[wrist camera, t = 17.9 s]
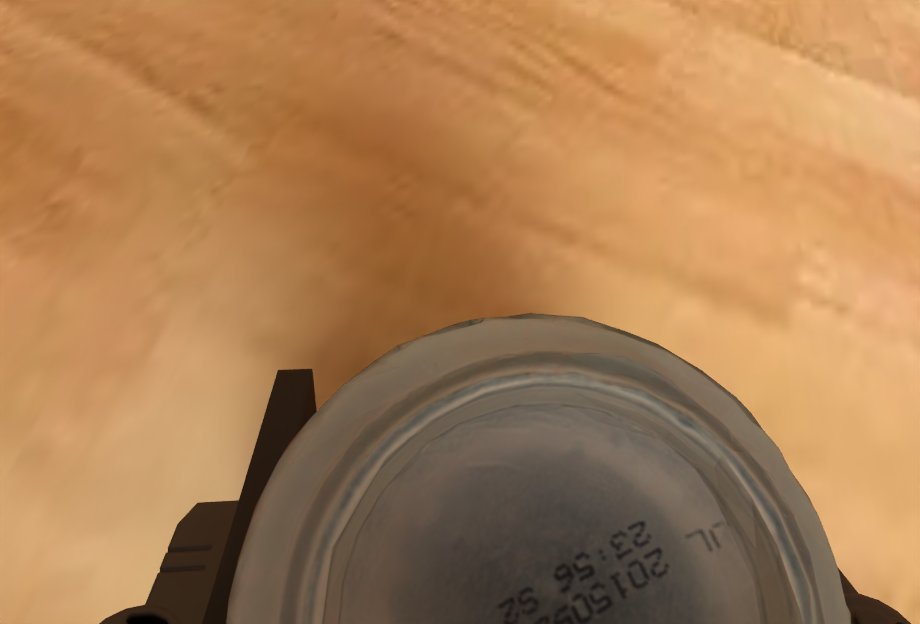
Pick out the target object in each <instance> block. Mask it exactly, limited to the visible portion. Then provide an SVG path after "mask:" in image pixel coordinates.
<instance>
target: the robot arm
mask: <svg viewBox="0 0 920 624" xmlns="http://www.w3.org/2000/svg"><path fill="white" fill-rule="evenodd" d="M315 413H316V402H315V391H314V381H313V371H312V369H294V370H278V372H277V375H276V379H275V382H274V385H273V389H272V392H271V395H270V399H269V402H268V405H267V409H266V412H265V415H264V419H263V422H262V425H261V429H260V432H259V435H258V439H257V442H256V445H255V449H254V452H253V455H252V459H251V462H250V465H249V469H248V472H247V475H246V479H245V482H244V485H243V489H242V492H241V495H240V499H239V501H221V502H203V503H197V504H196V505H195V506H194V507H193V508H192V509H191V510H190V511H189V513H188V514H187V515H186V516H185V517H184V518H183V519H182V520H181V521H180V522H179V523H178V525H177V527H176V530H175V532H174V535H173V537H172V539H171V542H170V544H169V547H168V553H166V554H165V557H164V559H163V562H162V564H161V567H160V573H158V574H157V577H156V579H155V582H154V584H153V587H152V589H151V592H150V594H149V597H148V599H147V602H146V604H145V605H142V606H137V607H132V608H127V609H125V610H123V611H120V612H118V613H116V614H114V615H112V616H110V617H108V618H106V619H105V620H103V621H102V622H101V623H100V624H226V619H227V611H228V603H229V596H230V592H231V588H232V583H233V579H234V575H235V571H236V566H237V562H238V558H239V555H240V552H241V549H242V546H243V543H244V540H245V537H246V534H247V530H248V527H249V524H250V521H251V518H252V515H253V512H254V509H255V506H256V504H257V502H258V500H259V498H260V496H261V494H262V492H263V490H264V488H265V486H266V485H267V483H268V481H269V479H270V477H271V475H272V473H273V471H274V469H275V467H276V465H277V463H278V461H279V460H280V458H281V456H282V455H283V453H284V452H285V450H286V448H287V447H288V445H289V443H290V442H291V440H292V439H293V438H294V437H295V436H296V434H297V433H298V432H299V431H300V430H301V429H302V427H303V426H304V425H305V424H306V423H307V422H308V421H309V419H310V418H311V417H312V416H313V415H314V414H315ZM837 568H838V567H837ZM838 570H839V568H838ZM839 573H840V579H841V585H842V590H843V594H844V598H845V602H846V605H847V607H848V609H849V611H850V614H851V624H911V623H910V622H909V621H907V620H906V619H905V618H904V617H903V616H902V615H901V614H900V613H899V612H898V611H896V610H894V609H893V608H891V607H889V606H888V605H886V604H884V603H882V602H881V601H879V600H876V599H873V598H870V597H867V596H864V595H861V594H859V593H858V592H857V591H856V590H855V589H854V587H853V586H852V585H851V584H850V582H849V581H848V580H847V578H846V577H845V576H844V575H843V573H842V572H841V571H840V570H839Z"/></svg>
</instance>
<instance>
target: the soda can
mask: <svg viewBox="0 0 920 624" xmlns="http://www.w3.org/2000/svg"><path fill="white" fill-rule="evenodd" d="M226 624H851V614H850V611H849V609H848V607H847V605H846V602H845V598H844V594H843V590H842V585H841V579H840V573H839V570H838V568H837V565H836V562H835V559H834V556H833V553H832V550H831V547H830V544H829V542H828V539H827V536H826V534H825V531H824V529H823V526H822V524H821V521H820V519H819V516H818V514H817V512H816V510H815V509H814V507H813V505H812V503H811V501H810V499H809V497H808V495H807V494H806V492H805V491H804V489H803V488H802V486H801V485H800V484H799V482H798V481H797V479H796V478H795V476H794V475H793V473H792V472H791V470H790V469H789V467H788V465H787V463H786V461H785V459H784V457H783V455H782V453H781V451H780V449H779V448H778V447H777V446H776V444H775V443H774V442H773V441H772V440H771V439H770V437H769V436H768V435H767V434H766V433H765V431H764V430H763V429H762V428H761V426H760V425H759V423H758V422H757V421H756V419H755V418H754V416H753V415H752V414H751V413H750V412H749V410H748V409H747V408H746V407H745V406H744V405H743V404H742V403H741V402H740V401H739V400H738V399H737V398H736V397H735V396H734V395H732V394H731V393H730V392H729V391H727V390H726V389H725V388H723V387H722V386H721V385H720V384H718V383H717V382H716V381H715V380H713V379H712V378H711V377H709V376H708V375H707V374H706V373H704V372H703V371H702V370H700V369H698V368H697V367H695V366H693V365H692V364H690V363H688V362H687V361H685V360H683V359H682V358H680V357H678V356H677V355H675V354H673V353H672V352H670V351H668V350H667V349H665V348H663V347H662V346H660V345H658V344H656V343H654V342H651V341H649V340H646V339H643V338H641V337H638V336H636V335H633V334H631V333H628V332H626V331H623V330H619V329H616V328H613V327H610V326H607V325H604V324H601V323H598V322H595V321H592V320H589V319H586V318H583V317H571V316H556V315H544V314H532V313H530V314H523V315H516V316H509V317H495V318H482V319H475V320H469V321H465V322H461V323H458V324H454V325H451V326H448V327H446V328H443V329H441V330H438V331H436V332H433V333H430V334H428V335H425V336H423V337H420V338H417V339H415V340H412V341H409V342H406V343H403V344H400V345H398V346H396V347H395V348H393V349H392V350H391V351H389V352H388V353H386V354H385V355H383V356H382V357H380V358H379V359H377V360H376V361H374V362H373V363H371V364H370V365H369V366H368V367H366V368H365V369H364V370H363V371H361V372H360V373H359V374H357V375H356V376H355V377H354V378H352V379H351V380H350V381H348V382H347V383H346V384H345V385H343V386H342V387H341V388H340V389H339V390H338V391H337V392H336V393H335V394H334V395H333V396H332V397H331V398H330V399H329V400H328V401H327V402H326V403H325V404H324V405H323V406H322V407H321V408H320V409H319V410H318V411H317V412H316V413H315V414H314V415H313V416H312V417H311V418H310V419H309V421H308V422H307V423H306V424H305V425H304V426H303V427H302V429H301V430H300V431H299V432H298V433H297V434H296V436H295V437H294V438H293V439H292V440H291V442H290V443H289V445H288V447H287V448H286V450H285V452H284V453H283V455H282V456H281V458H280V460H279V461H278V463H277V465H276V467H275V469H274V471H273V473H272V475H271V477H270V479H269V481H268V483H267V485H266V486H265V488H264V490H263V492H262V494H261V496H260V498H259V500H258V502H257V504H256V506H255V509H254V512H253V515H252V518H251V521H250V524H249V527H248V530H247V534H246V537H245V540H244V543H243V546H242V549H241V552H240V555H239V558H238V562H237V566H236V571H235V575H234V579H233V583H232V588H231V592H230V596H229V603H228V611H227V619H226Z"/></svg>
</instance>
